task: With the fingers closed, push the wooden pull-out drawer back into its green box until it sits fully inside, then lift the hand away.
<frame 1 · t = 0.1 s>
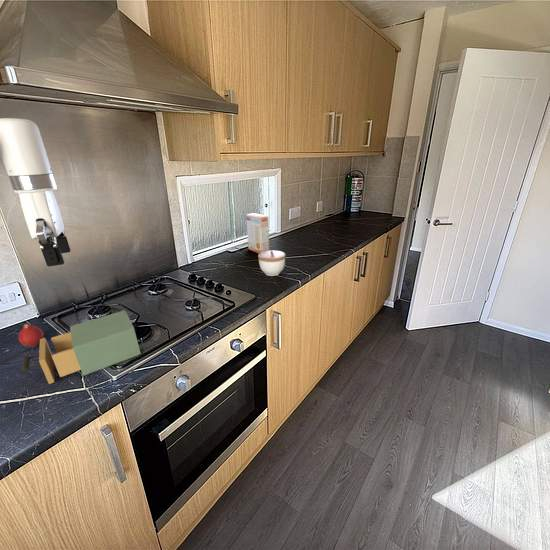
hand: (60, 258, 70), 31 cm above the worktop, tool pointing down, fingers open, 9 cm apart
green box: (109, 353, 86), on the worktop
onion: (35, 346, 91), on the worktop
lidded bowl: (272, 273, 139), on the worktop
cracker box: (258, 251, 169), on the worktop
wooden pull-out drawer: (65, 354, 79), point 5 cm above the worktop, slide at 6.0 cm
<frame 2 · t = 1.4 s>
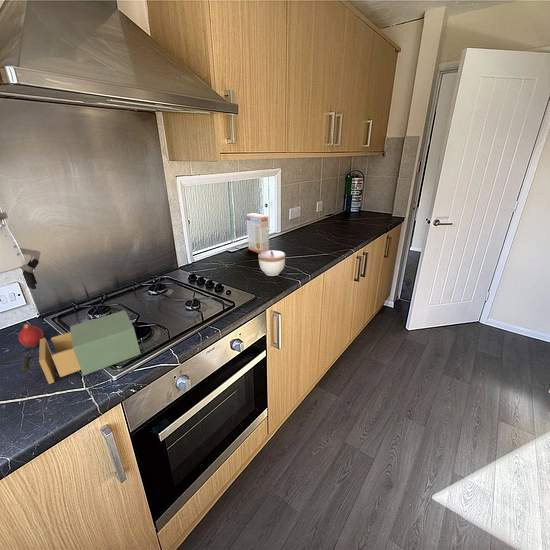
hand: (7, 295, 67), 25 cm above the worktop, tool pointing down, fingers open, 9 cm apart
nothing on the worktop moved.
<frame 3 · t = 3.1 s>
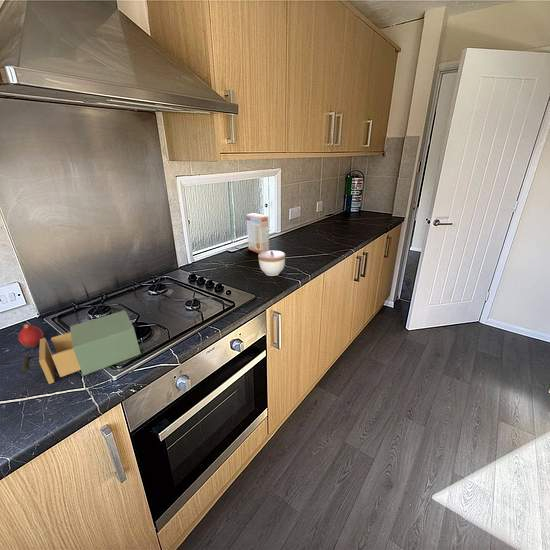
nothing on the worktop moved.
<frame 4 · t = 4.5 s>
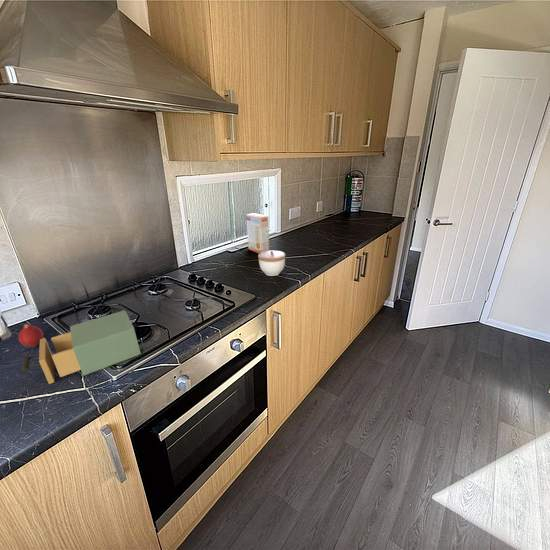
nothing on the worktop moved.
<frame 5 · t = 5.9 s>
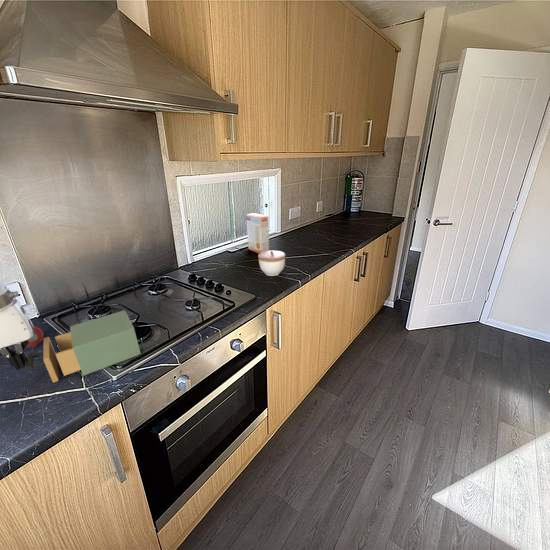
hand: (21, 365, 74), 5 cm above the worktop, tool pointing down, fingers closed
wooden pull-out drawer: (68, 352, 80), point 5 cm above the worktop, slide at 5.2 cm, touching gripper
everything else where it was.
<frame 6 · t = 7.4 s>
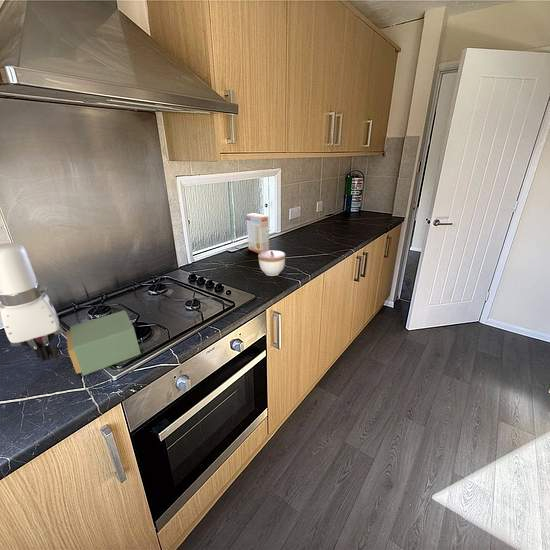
hand: (46, 357, 77), 5 cm above the worktop, tool pointing down, fingers closed
wooden pull-out drawer: (90, 345, 82), point 5 cm above the worktop, slide at 0.0 cm, touching gripper, green box
everything else where it was.
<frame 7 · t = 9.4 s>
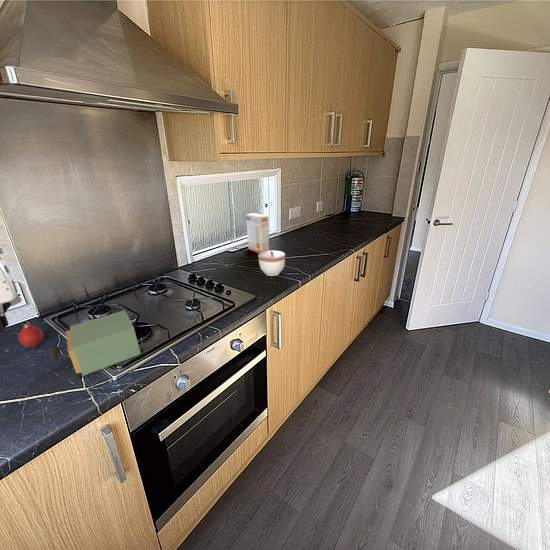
hand: (1, 329, 70), 16 cm above the worktop, tool pointing down, fingers closed
wooden pull-out drawer: (90, 345, 82), point 5 cm above the worktop, slide at 0.0 cm, touching green box
everything else where it was.
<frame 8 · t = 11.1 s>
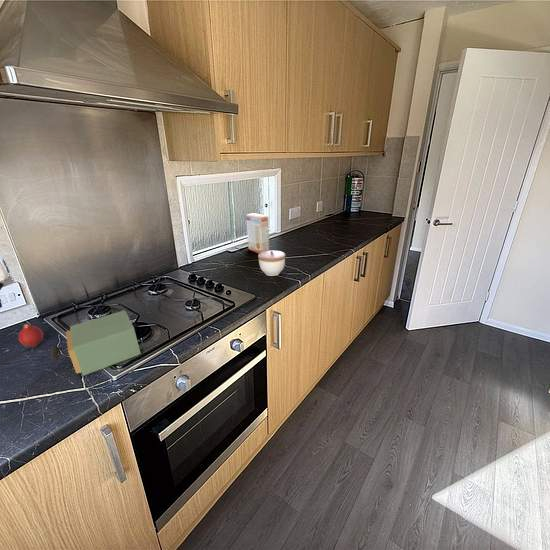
nothing on the worktop moved.
at the end: wooden pull-out drawer slide at 0.0 cm; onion moved 0.2 cm from its start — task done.
